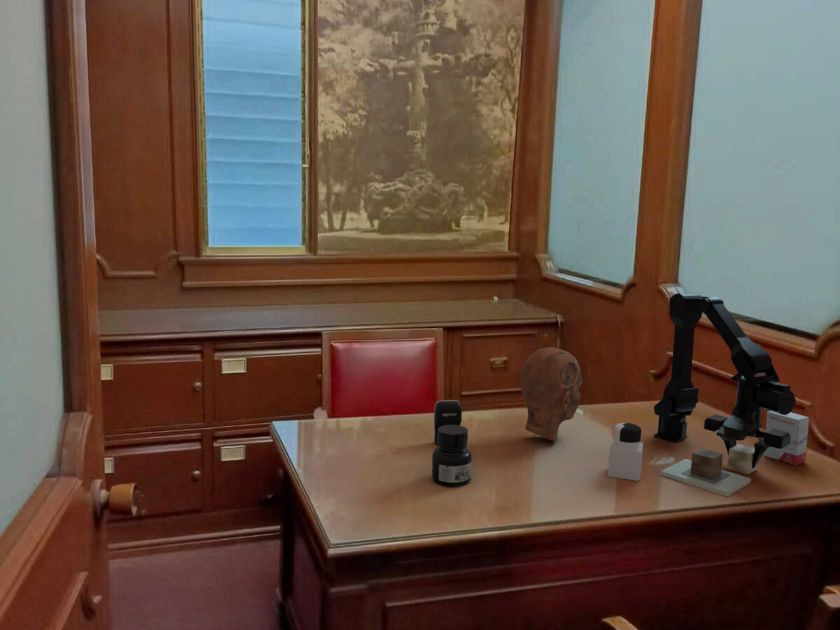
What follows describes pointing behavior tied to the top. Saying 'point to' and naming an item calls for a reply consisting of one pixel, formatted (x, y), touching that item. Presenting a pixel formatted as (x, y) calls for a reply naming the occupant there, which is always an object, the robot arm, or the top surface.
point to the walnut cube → (706, 463)
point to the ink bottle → (452, 456)
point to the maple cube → (741, 459)
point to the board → (720, 484)
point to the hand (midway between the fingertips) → (742, 464)
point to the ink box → (797, 431)
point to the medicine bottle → (626, 452)
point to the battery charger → (446, 415)
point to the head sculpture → (550, 390)
